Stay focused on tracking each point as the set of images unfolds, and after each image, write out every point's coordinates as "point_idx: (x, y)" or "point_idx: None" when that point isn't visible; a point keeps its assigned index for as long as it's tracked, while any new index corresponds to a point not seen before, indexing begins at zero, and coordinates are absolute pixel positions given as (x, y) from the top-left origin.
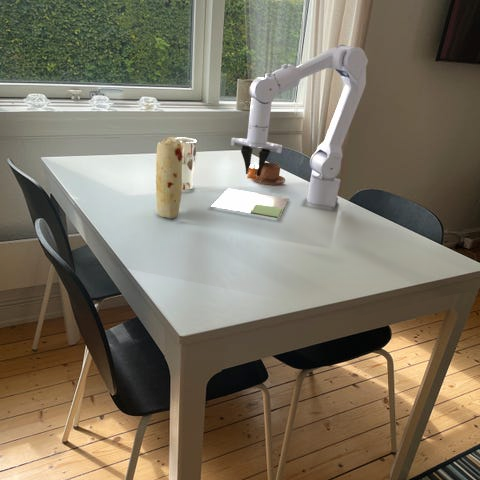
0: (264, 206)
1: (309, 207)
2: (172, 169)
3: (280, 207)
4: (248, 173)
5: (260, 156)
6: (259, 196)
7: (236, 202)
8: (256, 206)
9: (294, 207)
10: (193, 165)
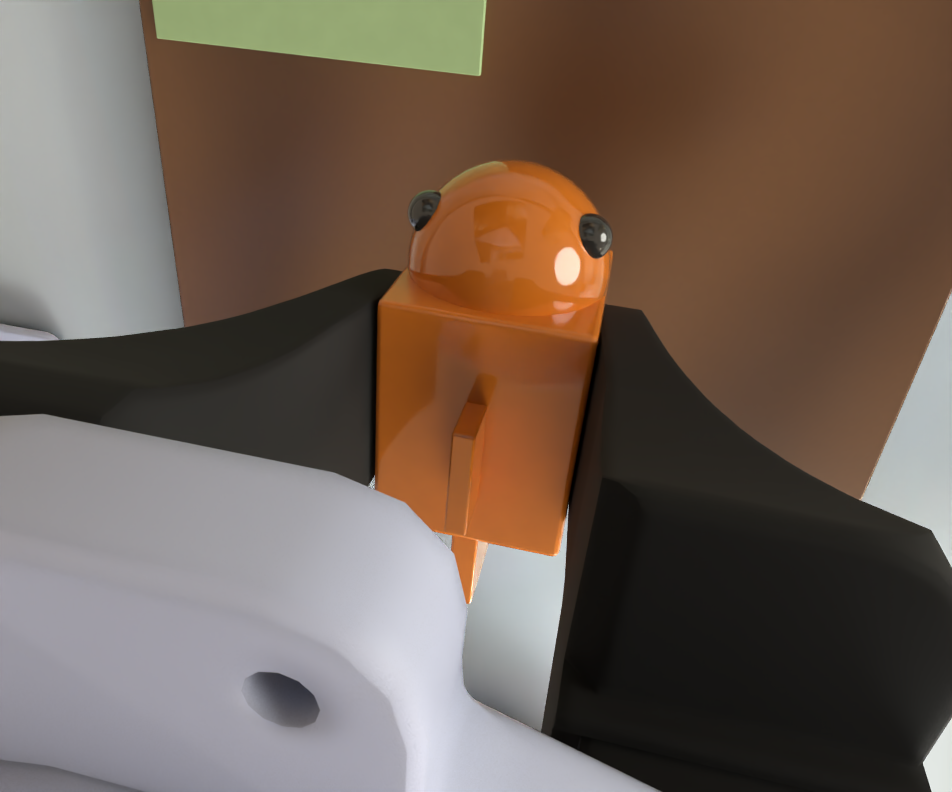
0: (360, 10)
1: (15, 317)
2: None
3: (193, 93)
4: (587, 205)
5: (162, 377)
6: None
7: (747, 43)
8: None
9: (122, 265)
10: None
